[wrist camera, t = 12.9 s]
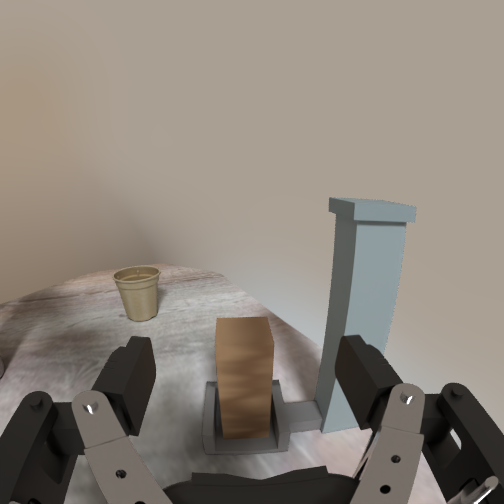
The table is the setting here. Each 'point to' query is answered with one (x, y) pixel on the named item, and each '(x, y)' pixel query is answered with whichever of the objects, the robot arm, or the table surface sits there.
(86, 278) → the table surface
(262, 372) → the tall brown wooden block
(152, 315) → the flower pot
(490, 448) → the robot arm
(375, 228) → the tall capped pillar
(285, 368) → the table surface
